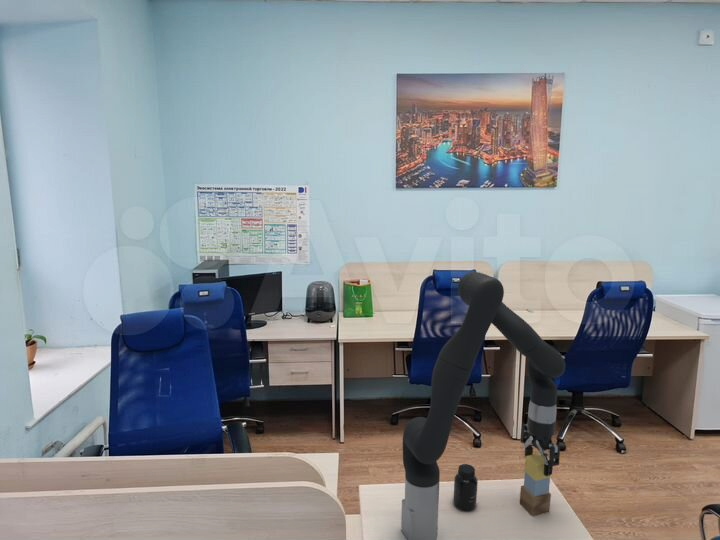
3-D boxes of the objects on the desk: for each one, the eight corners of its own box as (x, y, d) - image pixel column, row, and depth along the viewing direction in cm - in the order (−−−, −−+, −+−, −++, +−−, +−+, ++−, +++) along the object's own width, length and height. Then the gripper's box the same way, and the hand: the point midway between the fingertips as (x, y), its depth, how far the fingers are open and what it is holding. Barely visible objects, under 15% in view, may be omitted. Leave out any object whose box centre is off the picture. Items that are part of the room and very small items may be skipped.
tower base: (532, 516, 146) (533, 498, 145) (519, 503, 151) (520, 485, 150) (549, 512, 148) (550, 494, 147) (536, 499, 153) (537, 482, 152)
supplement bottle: (476, 513, 147) (478, 476, 145) (452, 510, 148) (454, 473, 146) (476, 498, 154) (477, 463, 151) (453, 495, 155) (455, 460, 153)
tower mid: (534, 496, 145) (535, 481, 144) (523, 486, 150) (524, 471, 149) (548, 493, 147) (550, 478, 146) (537, 483, 152) (538, 468, 151)
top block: (535, 481, 144) (536, 465, 143) (524, 471, 149) (525, 456, 148) (549, 477, 146) (550, 462, 145) (538, 468, 151) (539, 453, 150)
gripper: (515, 407, 149) (512, 456, 152) (547, 430, 136) (543, 483, 139) (536, 403, 152) (532, 452, 155) (570, 425, 138) (565, 478, 142)
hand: (537, 467), depth 147 cm, fingers open, 8 cm apart
